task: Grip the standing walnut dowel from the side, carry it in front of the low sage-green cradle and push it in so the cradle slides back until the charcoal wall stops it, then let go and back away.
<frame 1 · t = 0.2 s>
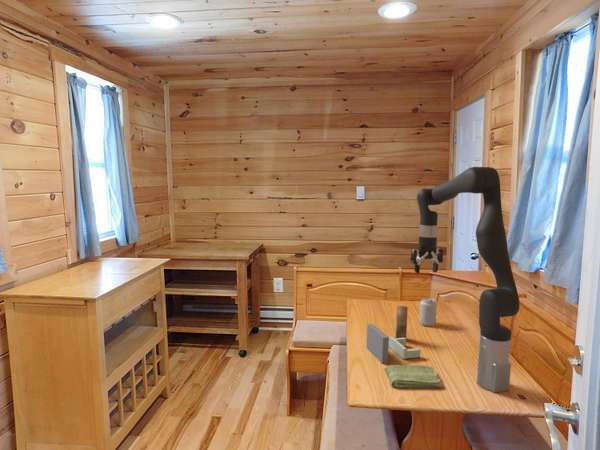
hand: (426, 272, 178), 28 cm above the table, tool pointing down, fingers open, 8 cm apart
washcloth: (412, 380, 143), on the table
dowel: (400, 339, 177), on the table
can: (427, 324, 195), on the table
wall: (376, 355, 161), on the table
cradle: (404, 346, 164), point 2 cm above the table, slide at 0.0 cm
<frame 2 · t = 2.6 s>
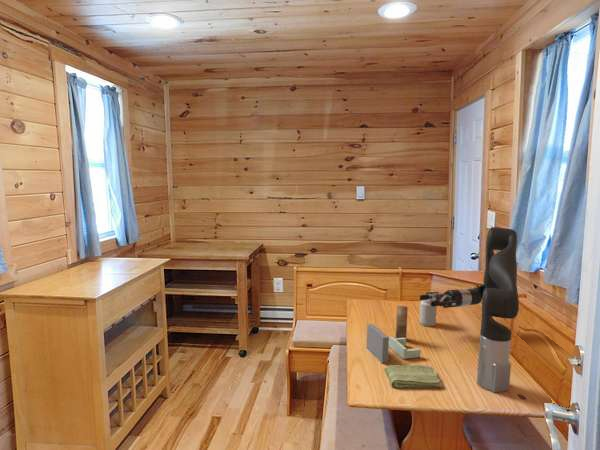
hand: (425, 300, 178), 16 cm above the table, tool horizontal, fingers open, 8 cm apart
nothing on the table moved.
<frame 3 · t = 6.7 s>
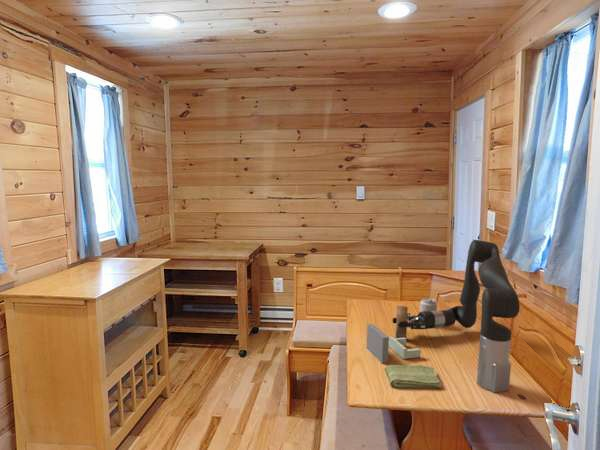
hand: (395, 322, 175), 8 cm above the table, tool horizontal, fingers closed on dowel, 4 cm apart
dowel: (400, 339, 177), on the table, touching gripper
everything else where it was.
when the fingers open (9 cm above the table, at t = 15.1 s): dowel drops 2 cm, on the table.
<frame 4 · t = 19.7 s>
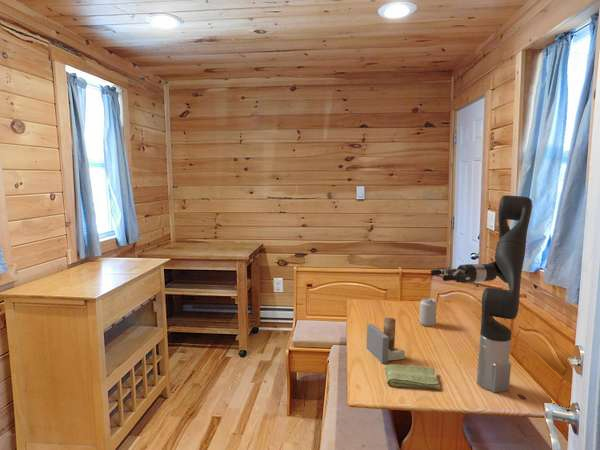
hand: (437, 275, 166), 30 cm above the table, tool horizontal, fingers open, 8 cm apart
dowel: (388, 353, 162), on the table
cradle: (388, 348, 162), point 2 cm above the table, slide at 6.7 cm
at the end: dowel 1.1 cm from the target spot on the cradle, point 0.0 cm above the cradle's base; cradle slide at 6.7 cm; dowel tilted 0° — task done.
